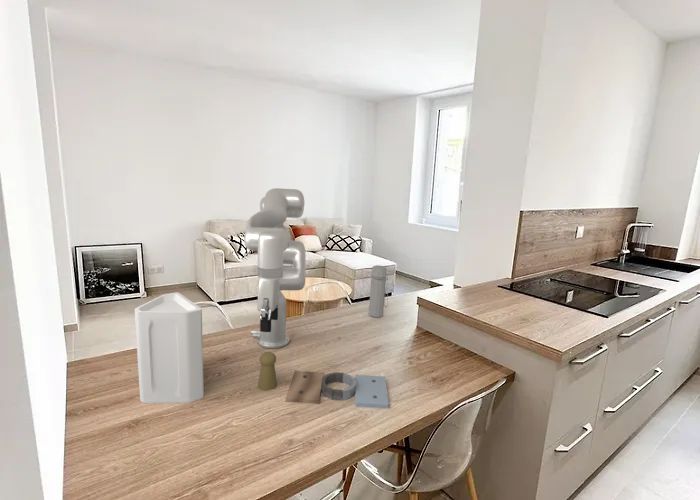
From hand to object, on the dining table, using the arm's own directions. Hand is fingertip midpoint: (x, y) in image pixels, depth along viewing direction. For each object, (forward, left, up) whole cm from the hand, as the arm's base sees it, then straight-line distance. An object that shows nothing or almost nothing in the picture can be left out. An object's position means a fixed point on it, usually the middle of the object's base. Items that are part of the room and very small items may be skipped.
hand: (269, 325), depth 117 cm
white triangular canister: (-29, -7, -21) cm, 37 cm away
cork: (0, 0, -21) cm, 21 cm away
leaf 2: (+31, 0, -21) cm, 37 cm away
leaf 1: (+16, 0, -21) cm, 26 cm away
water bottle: (+39, +67, -21) cm, 80 cm away
